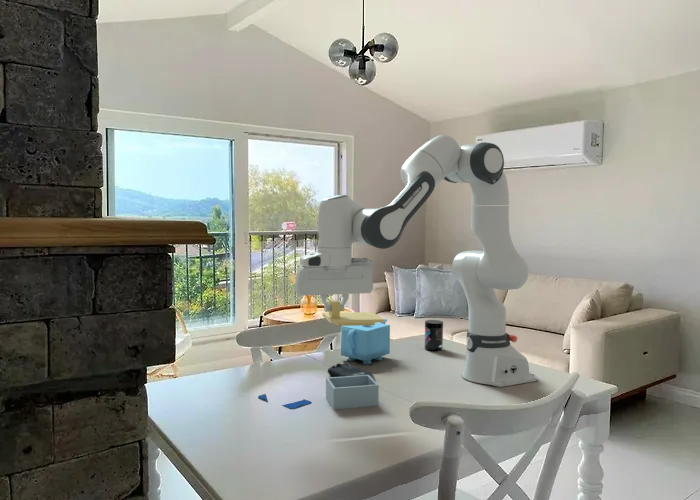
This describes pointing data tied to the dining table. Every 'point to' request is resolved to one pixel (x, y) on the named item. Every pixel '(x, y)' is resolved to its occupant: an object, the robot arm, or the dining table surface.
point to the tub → (352, 392)
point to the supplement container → (433, 335)
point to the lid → (350, 316)
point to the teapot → (365, 341)
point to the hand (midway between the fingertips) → (334, 311)
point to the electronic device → (347, 371)
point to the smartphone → (290, 405)
